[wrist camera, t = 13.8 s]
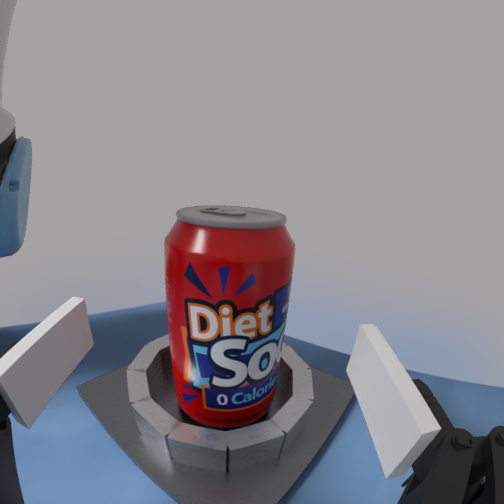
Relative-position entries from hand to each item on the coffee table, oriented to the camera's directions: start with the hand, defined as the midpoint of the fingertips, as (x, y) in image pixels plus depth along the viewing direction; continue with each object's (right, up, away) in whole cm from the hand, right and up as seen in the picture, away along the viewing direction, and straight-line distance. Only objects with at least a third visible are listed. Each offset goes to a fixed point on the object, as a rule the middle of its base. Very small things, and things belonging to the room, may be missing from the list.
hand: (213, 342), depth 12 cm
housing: (-1, -9, +9) cm, 13 cm away
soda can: (-1, -8, +9) cm, 12 cm away
